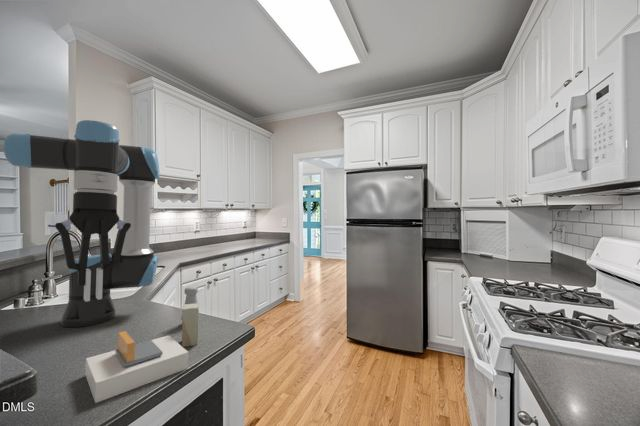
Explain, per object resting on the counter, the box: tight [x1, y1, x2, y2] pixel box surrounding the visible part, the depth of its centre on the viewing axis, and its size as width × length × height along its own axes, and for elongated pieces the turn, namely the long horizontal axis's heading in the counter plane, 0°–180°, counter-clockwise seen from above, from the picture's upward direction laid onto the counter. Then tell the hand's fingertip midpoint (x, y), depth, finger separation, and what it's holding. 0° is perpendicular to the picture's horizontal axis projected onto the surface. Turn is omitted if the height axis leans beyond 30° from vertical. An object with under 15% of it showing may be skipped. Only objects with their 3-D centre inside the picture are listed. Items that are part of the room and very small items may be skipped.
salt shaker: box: [180, 285, 200, 320], centre depth 97 cm, size 6×6×13 cm
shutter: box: [114, 330, 162, 367], centre depth 66 cm, size 9×8×5 cm
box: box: [181, 302, 200, 348], centre depth 82 cm, size 5×4×11 cm
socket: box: [85, 335, 189, 404], centre depth 66 cm, size 14×18×4 cm
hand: (92, 298), depth 60 cm, fingers closed
